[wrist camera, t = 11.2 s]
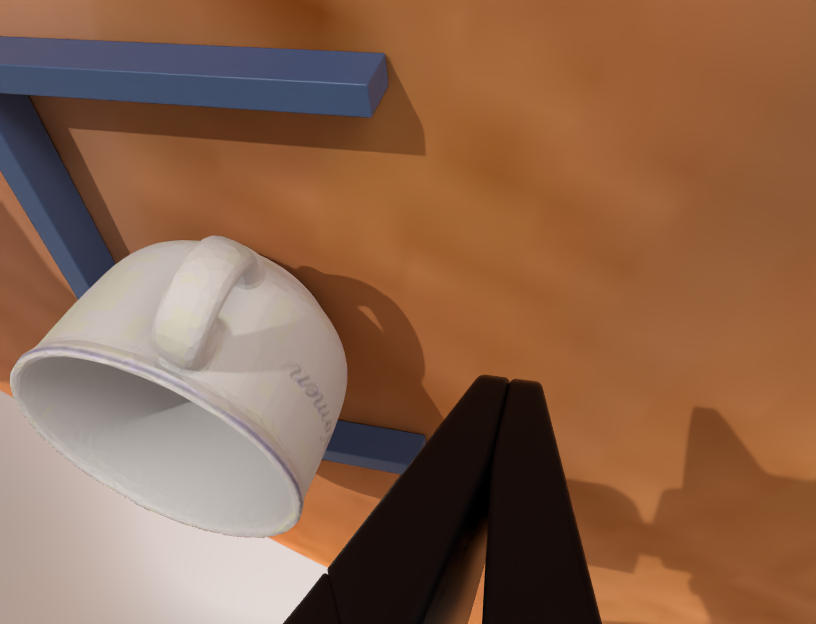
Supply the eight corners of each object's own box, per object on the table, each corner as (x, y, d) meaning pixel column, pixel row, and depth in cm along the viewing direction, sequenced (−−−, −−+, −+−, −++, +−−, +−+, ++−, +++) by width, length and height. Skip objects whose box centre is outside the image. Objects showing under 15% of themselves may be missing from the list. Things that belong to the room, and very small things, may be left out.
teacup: (306, 411, 34) (241, 565, 29) (101, 300, 31) (-12, 447, 26) (462, 256, 24) (405, 451, 19) (179, 76, 21) (21, 241, 16)
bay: (385, 52, 19) (367, 84, 18) (426, 446, 34) (417, 478, 32) (-29, 34, 22) (-67, 60, 21) (171, 401, 37) (155, 429, 35)
